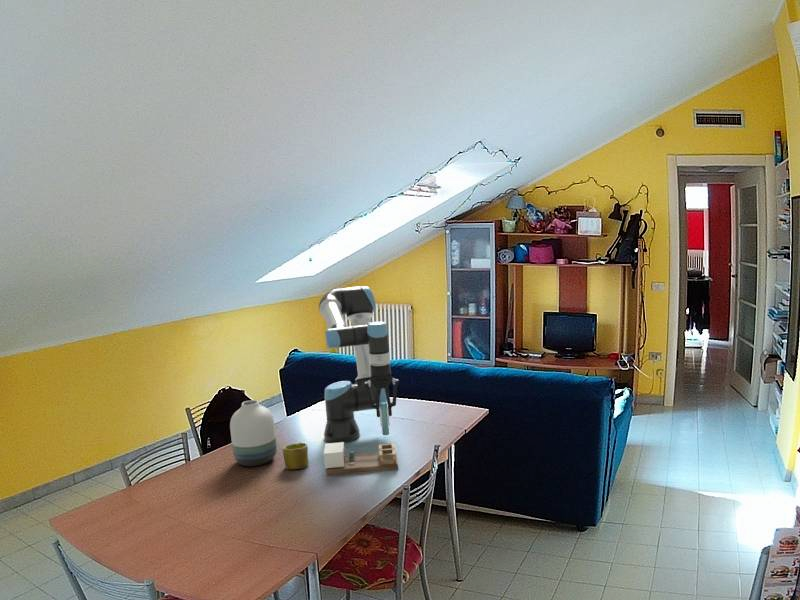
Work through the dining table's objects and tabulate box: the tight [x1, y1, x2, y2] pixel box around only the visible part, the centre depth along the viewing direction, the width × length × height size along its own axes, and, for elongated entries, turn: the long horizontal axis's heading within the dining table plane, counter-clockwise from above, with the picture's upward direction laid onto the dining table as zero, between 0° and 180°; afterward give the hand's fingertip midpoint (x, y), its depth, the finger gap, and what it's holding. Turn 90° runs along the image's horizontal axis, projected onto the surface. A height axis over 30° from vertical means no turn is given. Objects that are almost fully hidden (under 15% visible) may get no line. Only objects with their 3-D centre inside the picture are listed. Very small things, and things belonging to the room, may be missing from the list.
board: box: [326, 442, 399, 477], centre depth 231 cm, size 13×26×6 cm, turn 93°
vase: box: [229, 399, 278, 467], centre depth 242 cm, size 17×17×24 cm
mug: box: [282, 441, 309, 471], centre depth 236 cm, size 12×10×10 cm
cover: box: [323, 442, 346, 469], centre depth 230 cm, size 10×7×6 cm
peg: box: [380, 402, 390, 436], centre depth 232 cm, size 2×2×12 cm
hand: (385, 424), depth 232 cm, fingers closed on peg, 2 cm apart
